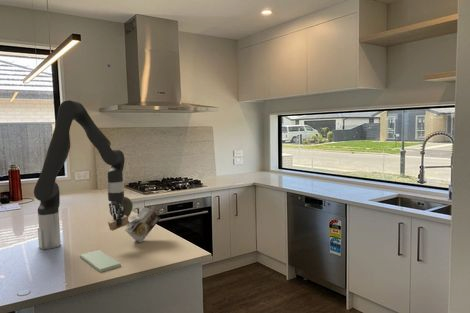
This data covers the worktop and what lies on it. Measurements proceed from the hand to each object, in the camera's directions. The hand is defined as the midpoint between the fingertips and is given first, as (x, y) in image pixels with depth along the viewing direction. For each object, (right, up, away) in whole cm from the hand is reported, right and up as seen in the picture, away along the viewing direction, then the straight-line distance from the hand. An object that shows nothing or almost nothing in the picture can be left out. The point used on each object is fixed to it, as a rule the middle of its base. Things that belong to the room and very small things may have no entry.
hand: (117, 224), depth 173 cm
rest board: (-2, -13, -18) cm, 22 cm away
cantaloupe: (-15, -7, +52) cm, 55 cm away
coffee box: (+6, -7, +6) cm, 11 cm away
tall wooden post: (+3, 0, +3) cm, 4 cm away
